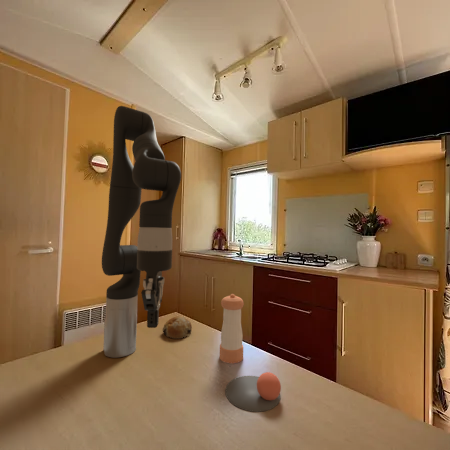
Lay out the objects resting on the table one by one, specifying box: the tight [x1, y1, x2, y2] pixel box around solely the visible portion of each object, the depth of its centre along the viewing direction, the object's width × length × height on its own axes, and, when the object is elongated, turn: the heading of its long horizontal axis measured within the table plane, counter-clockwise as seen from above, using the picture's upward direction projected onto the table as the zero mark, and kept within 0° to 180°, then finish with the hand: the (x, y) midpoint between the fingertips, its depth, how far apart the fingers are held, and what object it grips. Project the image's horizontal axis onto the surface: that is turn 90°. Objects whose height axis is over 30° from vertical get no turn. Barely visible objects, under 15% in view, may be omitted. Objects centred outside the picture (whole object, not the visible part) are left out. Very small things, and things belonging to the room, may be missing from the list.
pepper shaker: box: [219, 293, 245, 364], centre depth 77 cm, size 7×7×19 cm
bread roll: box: [162, 315, 193, 339], centre depth 93 cm, size 10×10×8 cm
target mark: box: [225, 375, 281, 413], centre depth 60 cm, size 13×13×1 cm
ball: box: [257, 371, 282, 400], centre depth 58 cm, size 6×6×6 cm
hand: (152, 326), depth 55 cm, fingers closed
